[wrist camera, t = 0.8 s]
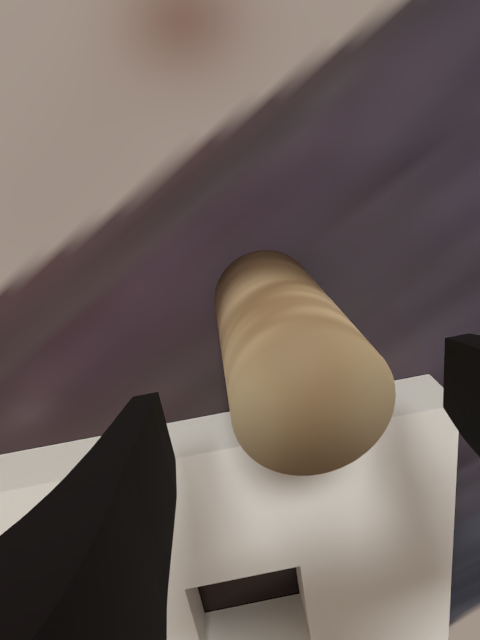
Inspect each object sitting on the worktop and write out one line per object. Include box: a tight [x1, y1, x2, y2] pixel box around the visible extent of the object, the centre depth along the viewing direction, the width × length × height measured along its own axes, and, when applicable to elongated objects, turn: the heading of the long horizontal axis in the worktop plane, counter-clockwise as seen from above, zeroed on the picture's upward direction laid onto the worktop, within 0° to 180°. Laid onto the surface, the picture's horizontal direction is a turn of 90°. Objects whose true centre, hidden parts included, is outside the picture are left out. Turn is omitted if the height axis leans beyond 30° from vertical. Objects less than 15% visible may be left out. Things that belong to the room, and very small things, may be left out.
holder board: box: [0, 374, 459, 640], centre depth 22 cm, size 20×20×2 cm
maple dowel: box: [215, 250, 396, 476], centre depth 14 cm, size 4×4×8 cm
